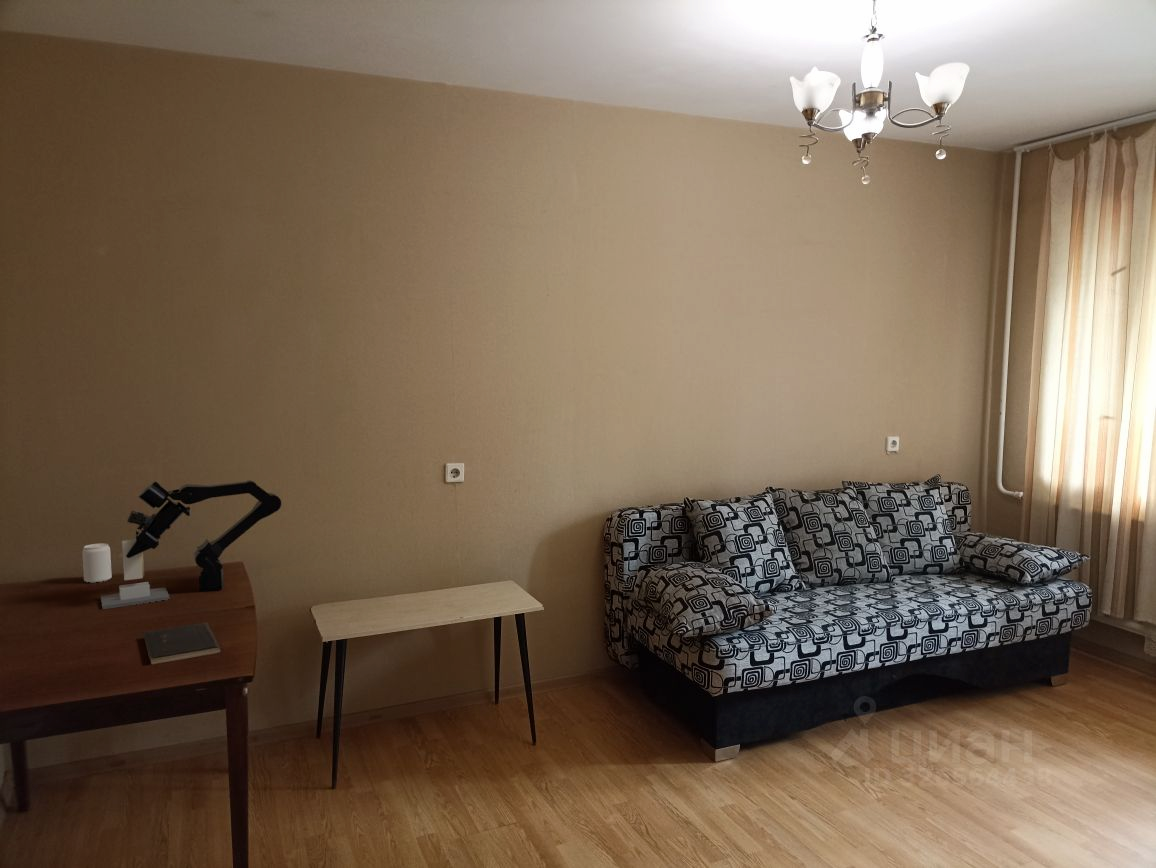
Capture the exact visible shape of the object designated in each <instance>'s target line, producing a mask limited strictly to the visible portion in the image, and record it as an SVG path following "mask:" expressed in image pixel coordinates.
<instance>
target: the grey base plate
mask: <svg viewBox="0 0 1156 868" xmlns="http://www.w3.org/2000/svg"><path fill="white" fill-rule="evenodd" d="M150 586H151V584H149V581H144V582H138V583H130V584H122V585H121V584H120V585H119V586H118V589H119V592H118V593H113V594H107V595H106V594H105V595H101V596H100V601H101V603H102V604H101V603H100V604H101V607H102V610H106V609H107V610H108V609H114V608H120V607H129V605H130V606H136V604H137V605H143V603H144V604H149V602H151V603H156V602H155V601H158V602H162V601H161V600H165V601H169V600H168V599H171V598H170V594H169V593H168V590H167V588H166V587H165V586H164V587H159V588H151V587H150Z"/></svg>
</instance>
